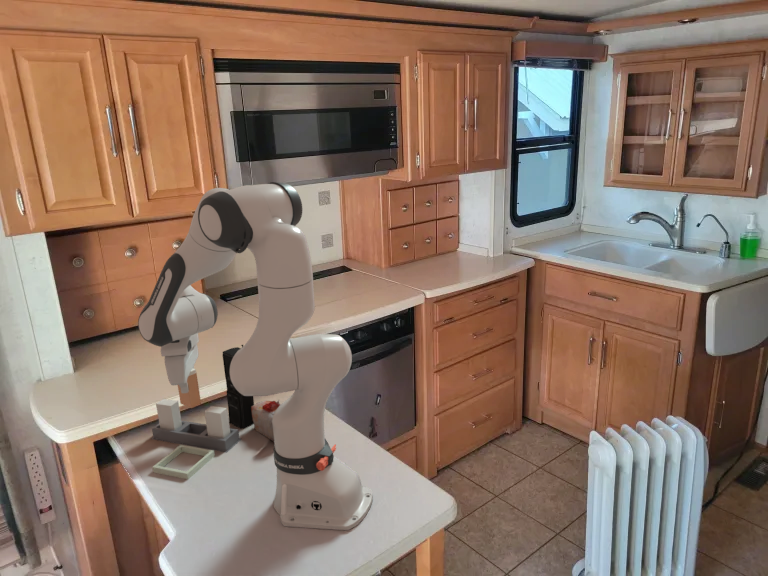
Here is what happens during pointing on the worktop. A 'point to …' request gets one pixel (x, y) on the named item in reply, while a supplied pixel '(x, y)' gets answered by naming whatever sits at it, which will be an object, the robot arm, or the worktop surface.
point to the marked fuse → (191, 391)
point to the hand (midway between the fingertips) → (188, 386)
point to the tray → (179, 473)
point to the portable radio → (236, 396)
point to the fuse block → (195, 428)
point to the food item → (264, 417)
